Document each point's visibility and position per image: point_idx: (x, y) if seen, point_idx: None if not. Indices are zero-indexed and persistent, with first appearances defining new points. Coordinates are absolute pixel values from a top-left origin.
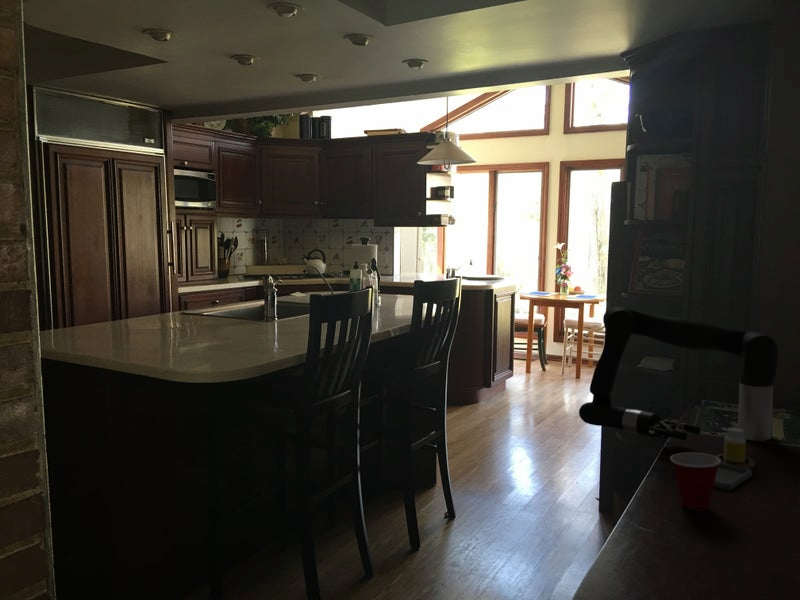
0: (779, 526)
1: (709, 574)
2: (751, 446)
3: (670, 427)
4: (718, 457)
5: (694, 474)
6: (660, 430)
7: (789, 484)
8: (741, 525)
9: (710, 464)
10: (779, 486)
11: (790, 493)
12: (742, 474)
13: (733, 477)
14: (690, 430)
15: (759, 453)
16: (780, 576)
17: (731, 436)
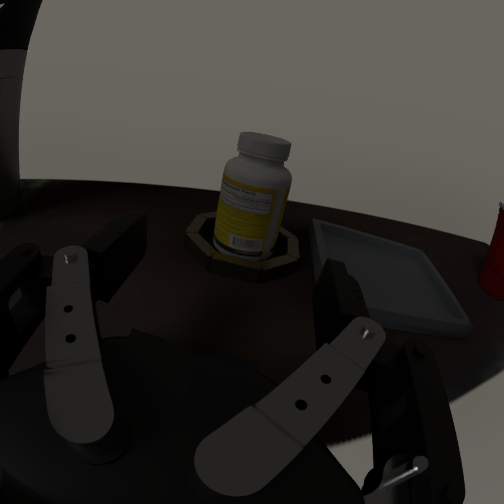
0: (435, 234)
1: None
2: (55, 214)
3: (255, 366)
4: (253, 262)
5: None
6: (441, 390)
7: (299, 204)
8: (468, 256)
9: (500, 220)
10: (322, 213)
11: (338, 210)
12: (355, 232)
13: (364, 249)
14: (120, 272)
15: (113, 208)
16: (484, 245)
17: (282, 164)
